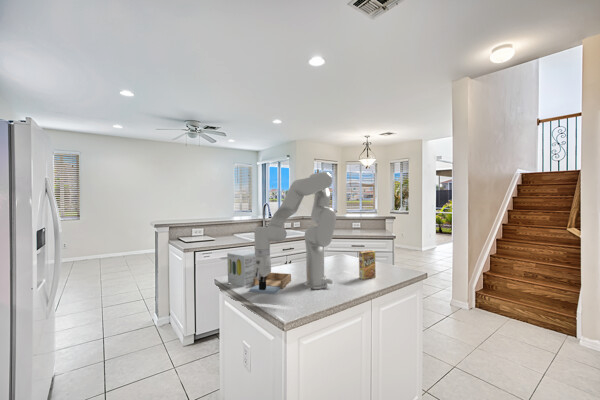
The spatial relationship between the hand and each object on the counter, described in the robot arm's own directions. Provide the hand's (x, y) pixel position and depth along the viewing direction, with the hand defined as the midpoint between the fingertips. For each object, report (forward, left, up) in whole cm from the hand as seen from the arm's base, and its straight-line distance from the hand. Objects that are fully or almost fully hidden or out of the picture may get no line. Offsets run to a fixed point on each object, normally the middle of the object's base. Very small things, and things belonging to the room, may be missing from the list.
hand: (262, 289), depth 137 cm
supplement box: (+16, -13, -3) cm, 21 cm away
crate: (0, -13, -2) cm, 13 cm away
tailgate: (0, -7, -1) cm, 7 cm away
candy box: (-48, -40, -3) cm, 63 cm away
